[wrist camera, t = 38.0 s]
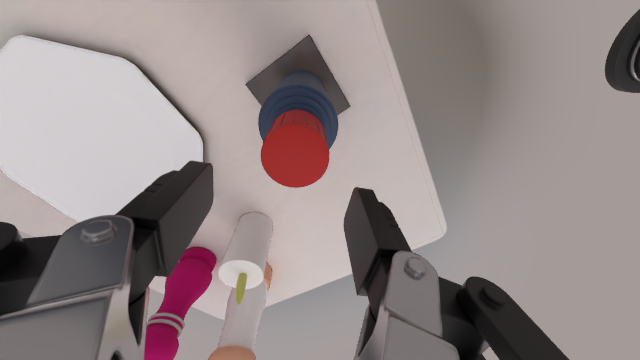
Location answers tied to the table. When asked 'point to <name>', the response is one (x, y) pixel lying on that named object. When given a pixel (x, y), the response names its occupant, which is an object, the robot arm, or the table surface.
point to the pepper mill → (178, 302)
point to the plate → (86, 127)
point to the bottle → (300, 103)
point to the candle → (247, 254)
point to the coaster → (293, 60)
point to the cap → (295, 149)
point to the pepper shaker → (242, 322)
